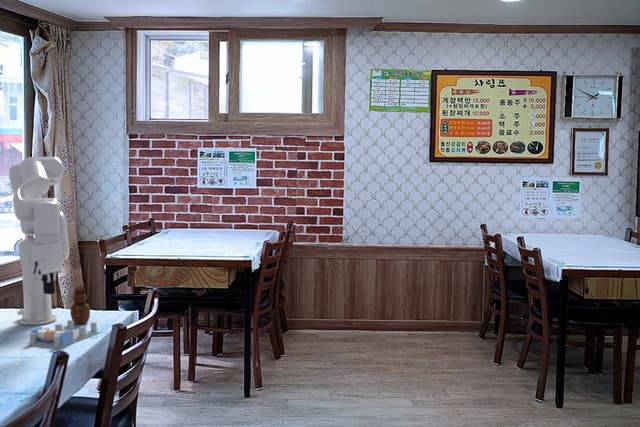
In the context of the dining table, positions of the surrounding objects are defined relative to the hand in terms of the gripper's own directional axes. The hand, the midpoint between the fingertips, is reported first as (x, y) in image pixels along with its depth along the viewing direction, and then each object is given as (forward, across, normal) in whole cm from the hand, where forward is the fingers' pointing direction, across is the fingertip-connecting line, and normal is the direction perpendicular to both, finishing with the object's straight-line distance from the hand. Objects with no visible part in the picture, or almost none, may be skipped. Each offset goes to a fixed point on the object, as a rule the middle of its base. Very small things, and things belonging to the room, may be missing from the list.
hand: (49, 293), depth 215 cm
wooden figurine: (+18, -24, -8) cm, 31 cm away
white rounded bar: (+14, +1, +1) cm, 14 cm away
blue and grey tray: (+17, -5, +1) cm, 18 cm away
